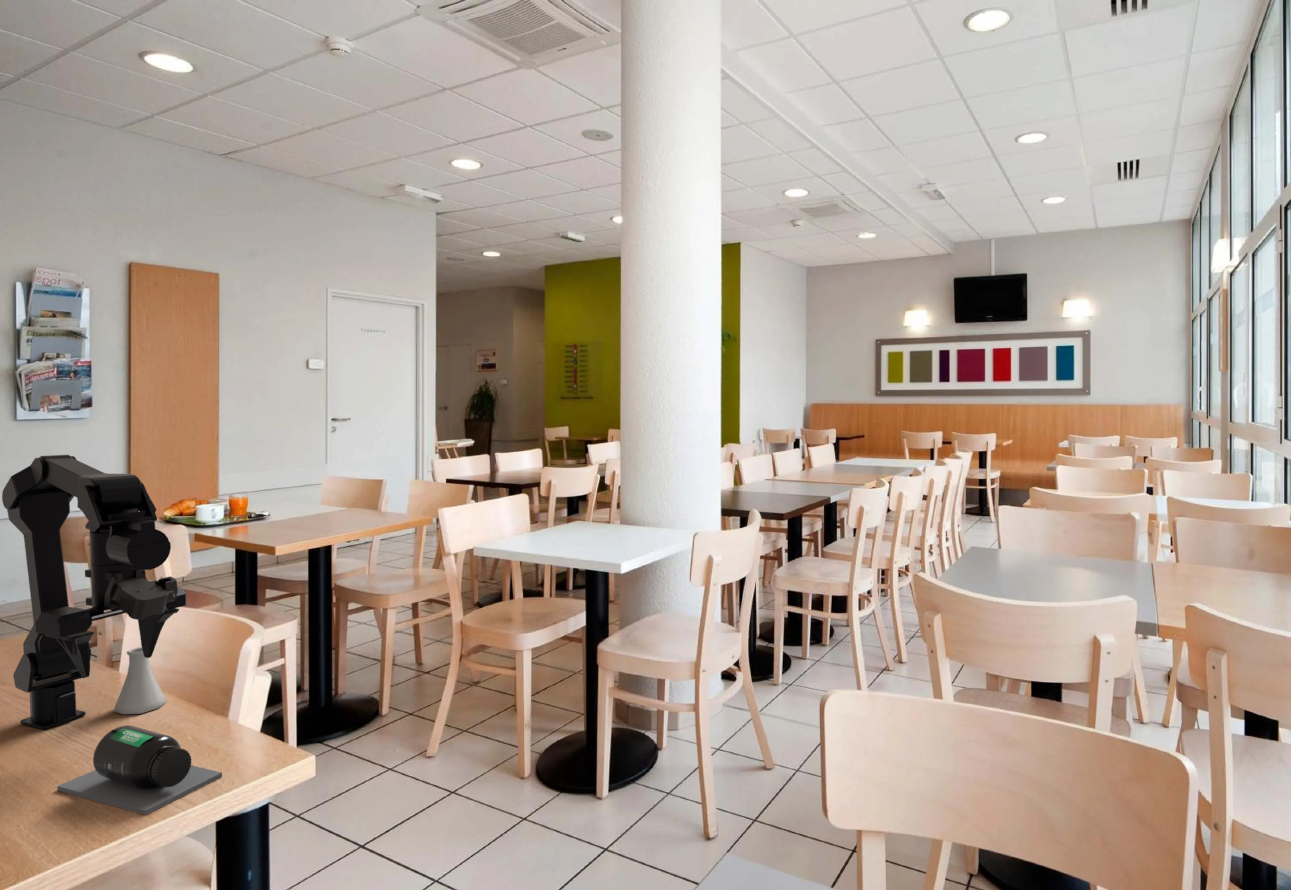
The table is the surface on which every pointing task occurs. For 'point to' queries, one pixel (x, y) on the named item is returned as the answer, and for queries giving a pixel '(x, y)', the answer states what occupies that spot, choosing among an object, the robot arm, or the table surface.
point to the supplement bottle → (141, 758)
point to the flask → (139, 687)
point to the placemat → (136, 790)
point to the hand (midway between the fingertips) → (117, 666)
